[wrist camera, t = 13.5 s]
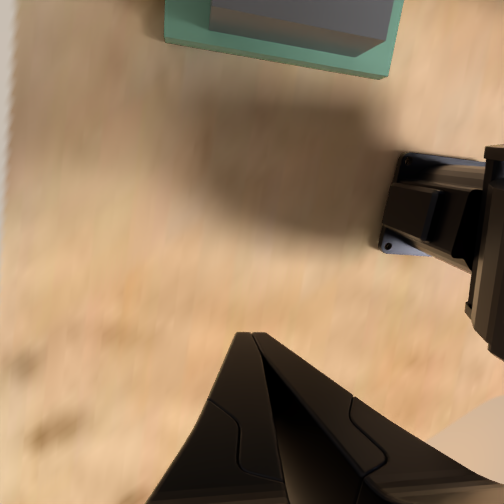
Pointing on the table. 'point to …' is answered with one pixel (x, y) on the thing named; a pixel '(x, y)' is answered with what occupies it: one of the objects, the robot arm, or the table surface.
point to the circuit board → (199, 36)
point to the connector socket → (306, 22)
